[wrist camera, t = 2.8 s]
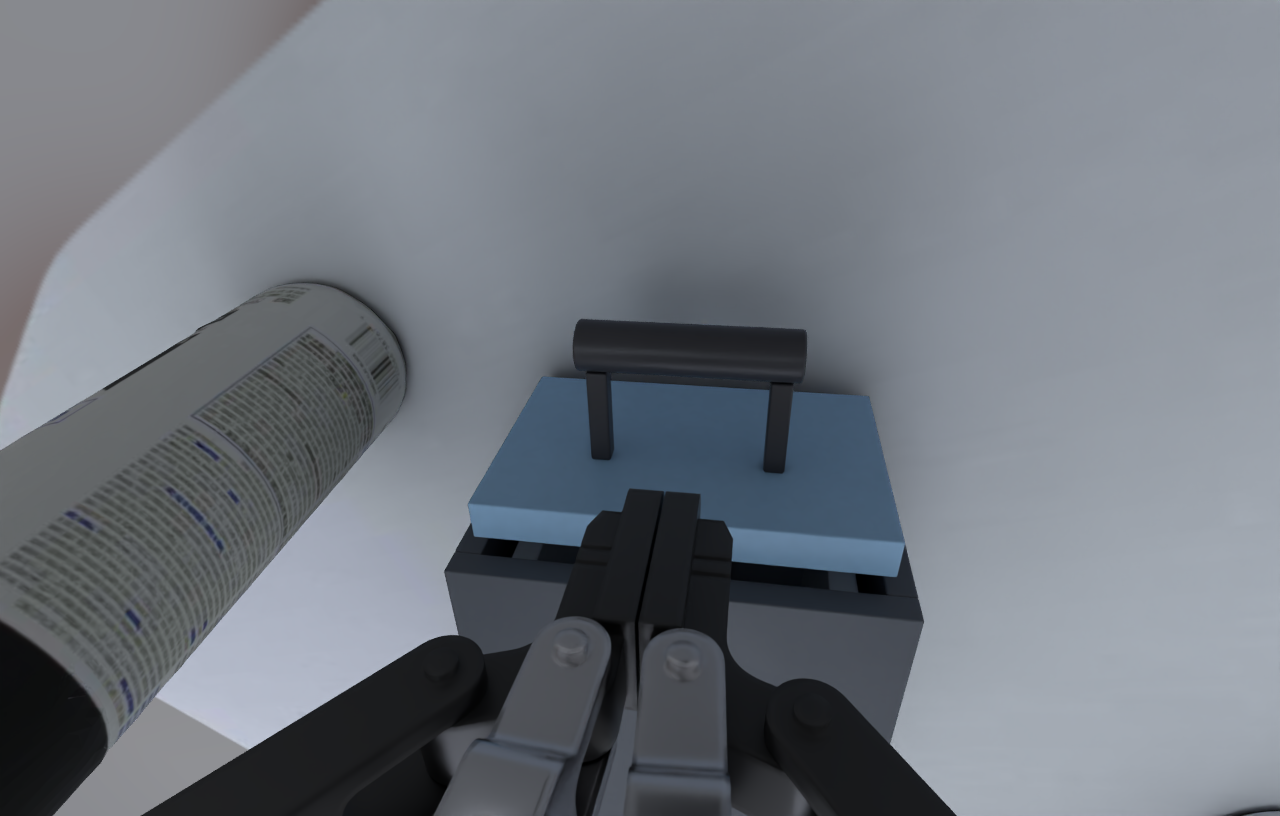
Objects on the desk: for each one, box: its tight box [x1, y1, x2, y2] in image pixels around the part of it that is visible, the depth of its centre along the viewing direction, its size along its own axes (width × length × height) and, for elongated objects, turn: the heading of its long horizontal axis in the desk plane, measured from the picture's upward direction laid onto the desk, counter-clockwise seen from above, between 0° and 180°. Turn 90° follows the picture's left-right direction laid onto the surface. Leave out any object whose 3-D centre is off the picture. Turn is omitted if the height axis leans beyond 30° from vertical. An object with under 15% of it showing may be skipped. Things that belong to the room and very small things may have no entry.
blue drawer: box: [468, 319, 905, 592], centre depth 23 cm, size 18×11×7 cm, turn 1°
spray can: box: [0, 283, 406, 816], centre depth 18 cm, size 7×7×20 cm
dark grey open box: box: [444, 523, 924, 816], centre depth 26 cm, size 15×13×9 cm
